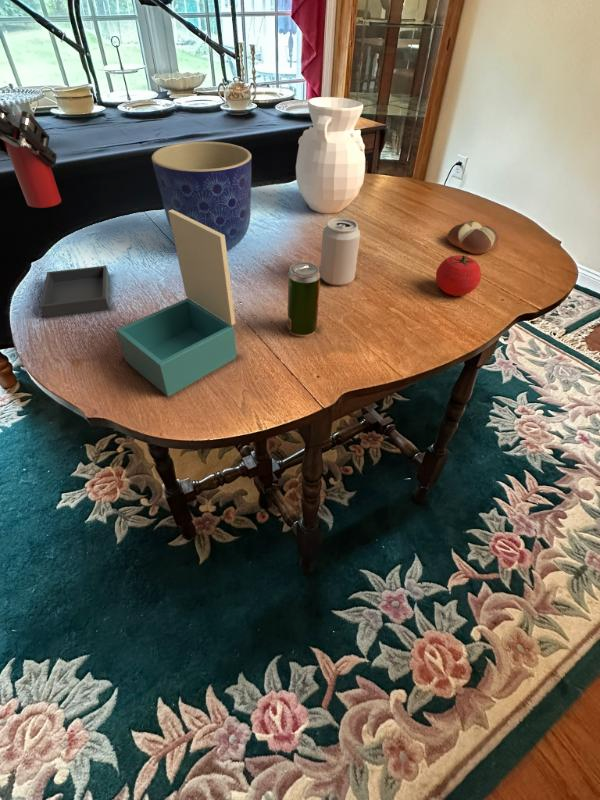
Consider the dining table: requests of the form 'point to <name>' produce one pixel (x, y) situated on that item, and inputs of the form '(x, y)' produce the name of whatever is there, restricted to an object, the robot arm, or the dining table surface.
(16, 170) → the plain red cylinder
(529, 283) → the dining table surface
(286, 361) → the dining table surface
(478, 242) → the bread
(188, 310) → the teal open box
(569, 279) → the dining table surface
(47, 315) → the tray
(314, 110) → the white vase
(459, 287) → the tomato
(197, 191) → the planter
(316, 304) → the beer can
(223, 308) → the lid
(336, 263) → the can
